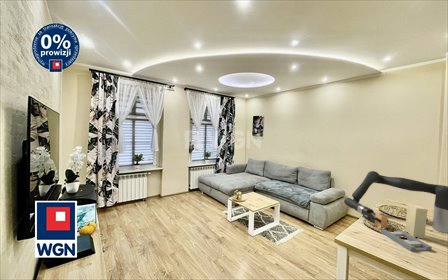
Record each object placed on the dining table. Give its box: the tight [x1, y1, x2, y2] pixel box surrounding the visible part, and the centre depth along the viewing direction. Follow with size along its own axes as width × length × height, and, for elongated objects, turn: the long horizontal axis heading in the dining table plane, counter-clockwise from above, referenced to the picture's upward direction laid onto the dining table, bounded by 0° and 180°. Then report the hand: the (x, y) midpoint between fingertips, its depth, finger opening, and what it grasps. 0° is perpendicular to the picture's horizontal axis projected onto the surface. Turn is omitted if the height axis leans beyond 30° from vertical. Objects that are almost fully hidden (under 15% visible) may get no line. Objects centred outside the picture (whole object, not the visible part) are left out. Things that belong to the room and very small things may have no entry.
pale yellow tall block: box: [404, 203, 428, 239], centre depth 130 cm, size 8×7×21 cm
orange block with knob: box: [374, 211, 389, 230], centre depth 139 cm, size 5×5×11 cm
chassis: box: [380, 228, 433, 252], centre depth 123 cm, size 20×14×2 cm
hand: (384, 221), depth 137 cm, fingers closed on orange block with knob, 5 cm apart
